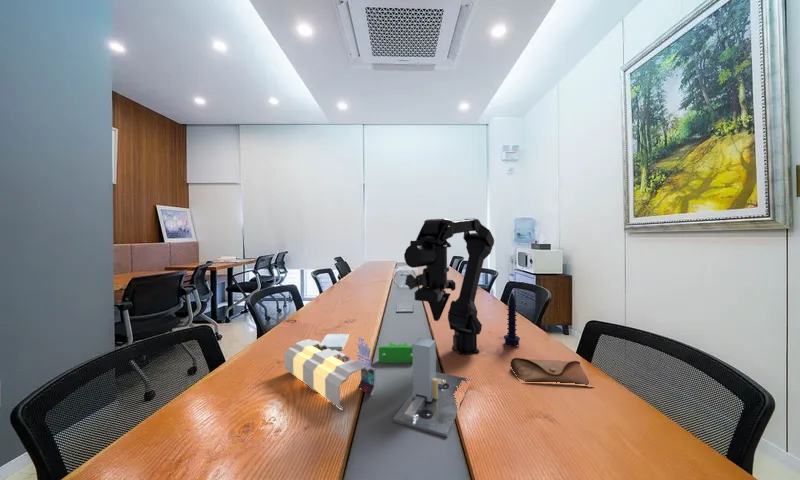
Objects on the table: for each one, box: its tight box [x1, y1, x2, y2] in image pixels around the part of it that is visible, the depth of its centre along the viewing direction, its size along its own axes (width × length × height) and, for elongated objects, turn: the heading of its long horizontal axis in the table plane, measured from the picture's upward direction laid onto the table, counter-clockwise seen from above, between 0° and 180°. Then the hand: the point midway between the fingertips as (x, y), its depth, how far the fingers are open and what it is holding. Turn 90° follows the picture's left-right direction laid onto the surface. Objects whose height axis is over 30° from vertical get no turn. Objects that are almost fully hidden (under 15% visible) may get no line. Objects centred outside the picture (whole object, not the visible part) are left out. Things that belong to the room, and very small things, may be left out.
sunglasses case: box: [510, 357, 590, 385], centre depth 76 cm, size 18×7×7 cm, turn 84°
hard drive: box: [320, 333, 350, 351], centre depth 100 cm, size 2×8×12 cm
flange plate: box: [392, 371, 471, 438], centre depth 66 cm, size 22×11×2 cm, turn 155°
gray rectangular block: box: [411, 337, 438, 402], centre depth 66 cm, size 4×5×12 cm
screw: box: [503, 291, 521, 347], centre depth 97 cm, size 18×5×5 cm
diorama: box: [284, 336, 377, 409], centre depth 73 cm, size 25×10×13 cm, turn 46°
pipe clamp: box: [378, 342, 413, 363], centre depth 87 cm, size 11×4×5 cm, turn 89°
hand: (436, 320), depth 82 cm, fingers closed
